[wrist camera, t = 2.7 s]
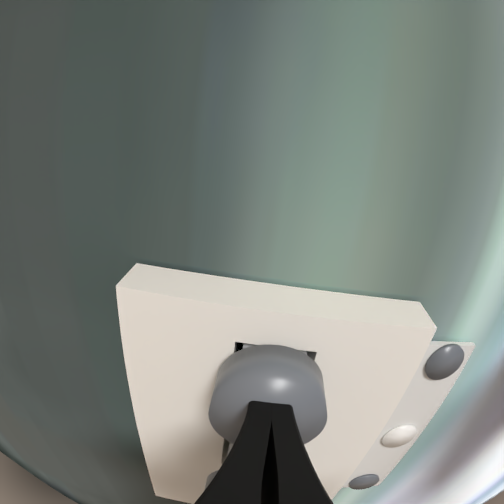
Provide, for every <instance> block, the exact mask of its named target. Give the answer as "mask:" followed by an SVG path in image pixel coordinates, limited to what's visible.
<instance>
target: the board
mask: <svg viewBox="0 0 504 504" xmlns="http://www.w3.org/2000/svg"><path fill="white" fill-rule="evenodd" d="M116 293H117V303H118V313H119V322H120V330H121V338H122V345H123V352H124V359H125V365H126V371H127V377H128V383H129V389H130V394H131V399H132V404H133V409H134V414H135V419H136V423H137V428H138V432H139V436H140V441H141V445H142V449H143V453H144V456H145V460H146V464H147V468H148V471H149V475H150V478H151V482H152V485H153V488H154V492H155V495H156V496H160V497H164V498H168V499H172V500H177V501H181V502H186V503H191V504H194V503H195V502H196V501H197V499H198V498H199V497H200V496H201V494H202V493H203V492H204V490H205V485H206V480H207V477H208V476H209V475H210V474H211V473H212V472H215V471H217V470H219V469H220V467H221V466H222V464H223V462H224V461H225V459H226V457H227V455H228V449H229V443H230V442H229V441H227V440H226V439H224V438H223V437H222V436H220V435H219V434H218V433H217V432H216V431H215V430H214V428H213V427H212V425H211V423H210V420H209V415H208V412H209V407H210V402H211V398H212V394H213V390H214V386H215V382H216V378H217V373H218V371H219V368H220V366H221V365H222V363H223V362H224V361H225V360H226V359H227V358H228V357H229V356H231V355H232V354H234V353H235V352H236V349H237V342H240V343H247V344H254V345H268V344H272V345H281V346H287V347H290V348H294V349H296V350H303V351H307V355H308V356H309V357H310V358H312V359H313V360H314V361H315V362H316V364H317V365H318V366H319V368H320V370H321V372H322V376H323V383H324V391H325V399H326V407H327V422H326V425H325V427H324V429H323V430H322V432H321V433H320V434H319V435H318V436H317V437H316V438H314V439H313V440H311V441H310V442H308V443H306V444H304V446H305V448H306V451H307V453H308V456H309V458H310V460H311V463H312V465H313V467H314V469H315V471H316V473H317V475H318V477H319V479H320V481H321V483H322V485H323V487H324V489H325V491H326V492H327V494H328V496H329V497H330V499H331V500H332V499H333V497H334V496H335V495H336V494H337V493H338V491H339V490H340V489H341V488H342V486H343V485H344V484H345V482H346V481H347V480H348V478H349V477H350V476H351V475H352V473H353V472H354V470H355V469H356V468H357V466H358V465H359V464H360V462H361V461H362V459H363V458H364V457H365V455H366V454H367V452H368V451H369V449H370V448H371V446H372V445H373V444H374V442H375V441H376V439H377V437H378V436H379V434H380V433H381V431H382V430H383V428H384V427H385V425H386V423H387V422H388V420H389V419H390V417H391V415H392V414H393V412H394V410H395V409H396V407H397V405H398V403H399V402H400V400H401V398H402V397H403V395H404V393H405V391H406V389H407V388H408V386H409V384H410V382H411V380H412V378H413V376H414V375H415V373H416V371H417V369H418V367H419V365H420V363H421V361H422V359H423V357H424V355H425V353H426V351H427V349H428V346H429V344H430V342H431V340H432V338H433V336H434V334H435V331H436V329H437V327H436V326H435V324H434V323H433V321H432V320H431V318H430V317H429V315H428V314H427V312H426V311H425V309H424V308H423V306H422V305H421V303H420V302H415V301H406V300H397V299H388V298H379V297H371V296H362V295H354V294H346V293H338V292H330V291H322V290H314V289H306V288H299V287H291V286H284V285H277V284H269V283H262V282H255V281H248V280H241V279H234V278H227V277H221V276H214V275H207V274H201V273H194V272H188V271H181V270H175V269H169V268H163V267H156V266H150V265H144V264H138V263H136V264H135V265H134V267H133V268H132V269H131V270H130V271H129V272H128V273H127V274H126V275H125V276H124V277H123V278H122V280H121V281H120V282H119V283H118V284H117V285H116Z"/></svg>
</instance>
